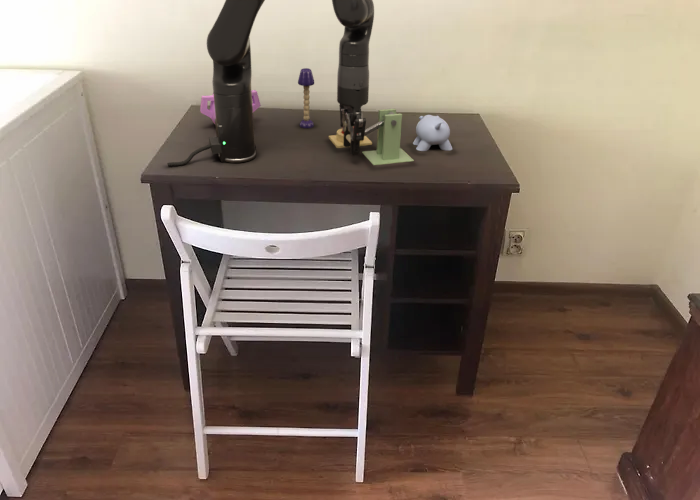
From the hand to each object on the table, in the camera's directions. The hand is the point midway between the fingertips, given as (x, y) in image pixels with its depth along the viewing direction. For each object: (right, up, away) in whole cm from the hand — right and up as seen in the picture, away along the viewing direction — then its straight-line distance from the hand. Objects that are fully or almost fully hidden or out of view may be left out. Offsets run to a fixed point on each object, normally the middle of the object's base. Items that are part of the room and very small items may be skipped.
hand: (351, 150), depth 150 cm
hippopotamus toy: (+22, +3, +14) cm, 26 cm away
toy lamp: (-13, +11, +25) cm, 31 cm away
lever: (+6, +4, 0) cm, 7 cm away
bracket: (+9, -2, +5) cm, 11 cm away
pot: (-35, +11, +24) cm, 43 cm away
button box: (0, +4, +14) cm, 14 cm away
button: (0, +6, +12) cm, 14 cm away
